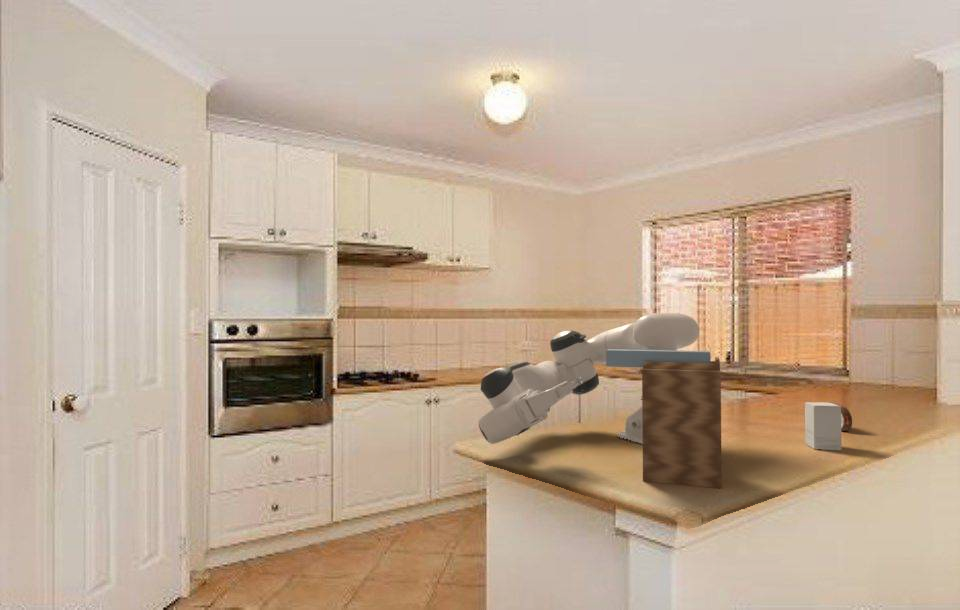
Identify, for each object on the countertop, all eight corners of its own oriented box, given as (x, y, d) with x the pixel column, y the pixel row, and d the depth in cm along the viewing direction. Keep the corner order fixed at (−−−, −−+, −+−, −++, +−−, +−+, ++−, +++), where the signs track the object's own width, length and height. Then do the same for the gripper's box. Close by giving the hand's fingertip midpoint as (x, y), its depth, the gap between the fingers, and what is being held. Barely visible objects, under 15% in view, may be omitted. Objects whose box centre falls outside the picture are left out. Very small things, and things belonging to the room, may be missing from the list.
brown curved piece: (853, 433, 187) (853, 407, 187) (843, 433, 187) (843, 407, 187) (826, 424, 202) (825, 400, 202) (816, 424, 202) (816, 400, 202)
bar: (606, 366, 143) (606, 350, 143) (608, 364, 147) (608, 349, 147) (710, 369, 135) (710, 352, 135) (710, 367, 138) (710, 351, 138)
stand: (642, 480, 135) (642, 358, 135) (647, 465, 148) (646, 354, 148) (721, 488, 129) (720, 360, 129) (719, 472, 142) (718, 356, 142)
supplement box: (842, 450, 163) (841, 406, 163) (813, 449, 165) (813, 405, 165) (832, 445, 170) (831, 402, 171) (804, 444, 172) (804, 401, 172)
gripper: (548, 410, 161) (591, 387, 156) (528, 424, 142) (576, 398, 137) (537, 390, 162) (579, 367, 158) (515, 401, 143) (563, 374, 139)
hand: (578, 381), depth 147 cm, fingers open, 8 cm apart
